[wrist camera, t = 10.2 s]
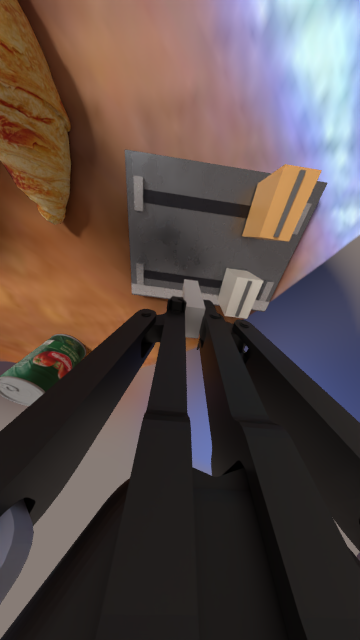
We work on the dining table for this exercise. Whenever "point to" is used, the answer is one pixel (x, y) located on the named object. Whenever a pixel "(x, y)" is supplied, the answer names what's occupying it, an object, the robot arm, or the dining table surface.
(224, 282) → the cream fader
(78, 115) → the dining table surface
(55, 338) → the canned tomato
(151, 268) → the console
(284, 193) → the orange fader
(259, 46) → the dining table surface
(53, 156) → the croissant
